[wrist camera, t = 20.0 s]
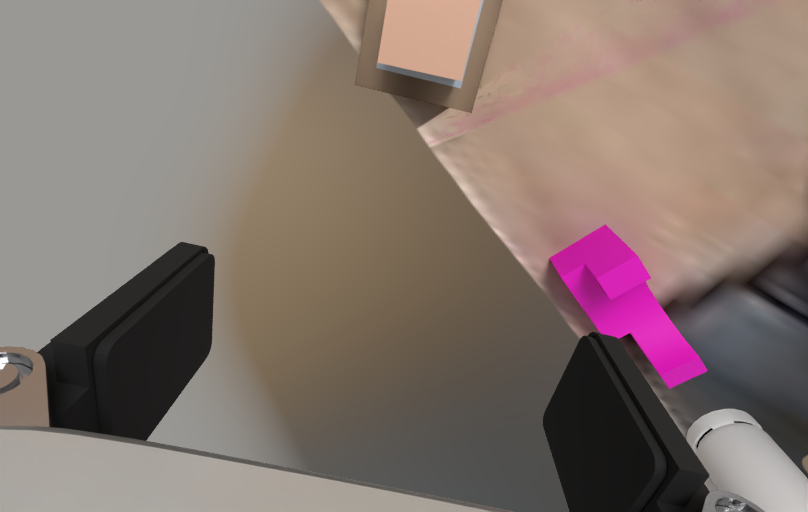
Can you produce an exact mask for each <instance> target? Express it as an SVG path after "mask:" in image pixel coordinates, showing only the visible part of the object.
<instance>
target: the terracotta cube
mask: <svg viewBox="0 0 808 512" xmlns="http://www.w3.org/2000/svg"><path fill="white" fill-rule="evenodd" d="M480 3H481V0H387V6H386V12H385V18H384V25H383V31H382V37H381V43H380V49H379V56H378V63H382V64H386V65H391V66H395V67H400V68H404V69H409V70H413V71H418V72H422V73H427V74H431V75H436V76H440V77H445V78H449V79H454V80H458V81H462V77H463V73H464V69H465V65H466V61H467V57H468V53H469V49H470V44H471V40H472V36H473V32H474V28H475V24H476V20H477V16H478V11H479V7H480Z"/></svg>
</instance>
